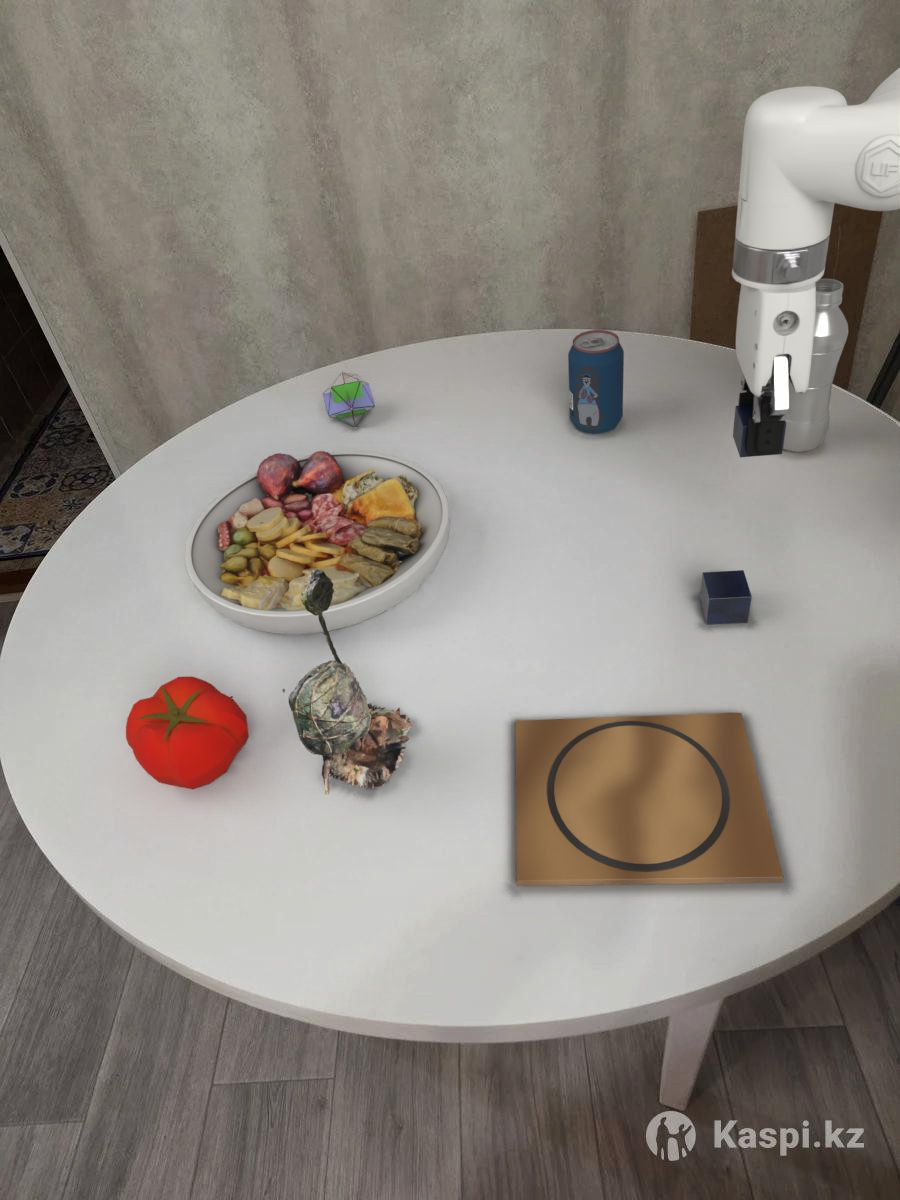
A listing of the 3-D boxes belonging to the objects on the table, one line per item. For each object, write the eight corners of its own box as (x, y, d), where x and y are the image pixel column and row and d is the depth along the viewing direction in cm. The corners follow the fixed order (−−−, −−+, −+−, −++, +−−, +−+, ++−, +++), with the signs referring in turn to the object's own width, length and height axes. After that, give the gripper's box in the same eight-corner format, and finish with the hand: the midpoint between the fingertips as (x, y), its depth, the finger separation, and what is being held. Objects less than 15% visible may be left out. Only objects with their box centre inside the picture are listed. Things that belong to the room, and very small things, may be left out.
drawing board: (740, 718, 77) (741, 710, 76) (782, 882, 65) (784, 875, 65) (516, 725, 79) (515, 718, 79) (517, 886, 68) (516, 879, 67)
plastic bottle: (758, 447, 107) (781, 290, 94) (788, 423, 110) (814, 268, 97) (806, 464, 103) (837, 304, 90) (836, 440, 106) (870, 281, 93)
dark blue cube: (773, 432, 87) (777, 401, 85) (782, 454, 85) (786, 423, 82) (732, 436, 88) (735, 405, 86) (739, 457, 85) (743, 426, 83)
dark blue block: (739, 595, 88) (743, 569, 86) (747, 622, 86) (752, 596, 83) (699, 597, 89) (702, 571, 87) (706, 624, 86) (709, 598, 84)
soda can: (614, 407, 118) (615, 323, 110) (628, 432, 113) (631, 347, 105) (564, 415, 118) (562, 333, 110) (576, 442, 113) (575, 357, 105)
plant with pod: (287, 779, 78) (222, 620, 64) (371, 698, 84) (328, 537, 70) (352, 823, 74) (297, 662, 60) (435, 735, 80) (402, 571, 66)
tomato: (202, 696, 87) (181, 650, 82) (273, 745, 81) (255, 699, 77) (121, 761, 82) (94, 716, 77) (191, 819, 76) (166, 774, 71)
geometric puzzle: (380, 419, 119) (366, 361, 118) (331, 429, 118) (317, 371, 117) (378, 426, 126) (365, 371, 125) (332, 436, 125) (318, 381, 125)
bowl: (503, 571, 95) (498, 514, 90) (252, 693, 86) (229, 638, 81) (381, 456, 116) (370, 404, 110) (167, 545, 106) (144, 493, 101)
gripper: (853, 291, 67) (818, 485, 79) (801, 217, 80) (778, 395, 92) (753, 301, 68) (733, 492, 80) (717, 226, 81) (705, 401, 93)
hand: (757, 438), depth 86 cm, fingers closed on dark blue cube, 4 cm apart
